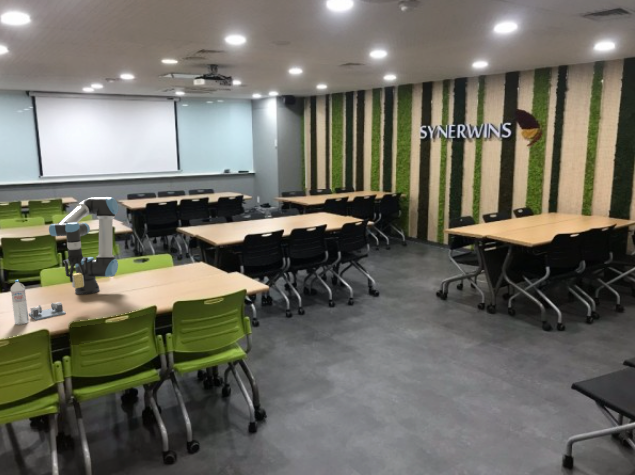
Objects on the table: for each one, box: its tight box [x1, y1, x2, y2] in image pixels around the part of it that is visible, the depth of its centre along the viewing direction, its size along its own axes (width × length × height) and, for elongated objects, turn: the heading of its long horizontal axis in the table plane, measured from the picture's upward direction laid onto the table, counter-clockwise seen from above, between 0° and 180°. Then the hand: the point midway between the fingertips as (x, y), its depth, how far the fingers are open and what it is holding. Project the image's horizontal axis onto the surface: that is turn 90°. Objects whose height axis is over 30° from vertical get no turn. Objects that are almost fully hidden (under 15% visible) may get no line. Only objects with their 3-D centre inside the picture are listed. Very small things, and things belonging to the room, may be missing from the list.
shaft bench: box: [28, 301, 67, 321], centre depth 298 cm, size 14×16×6 cm
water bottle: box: [10, 279, 29, 326], centre depth 282 cm, size 7×7×25 cm
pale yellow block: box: [73, 272, 84, 289], centre depth 304 cm, size 4×4×8 cm
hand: (78, 286), depth 304 cm, fingers closed on pale yellow block, 4 cm apart
